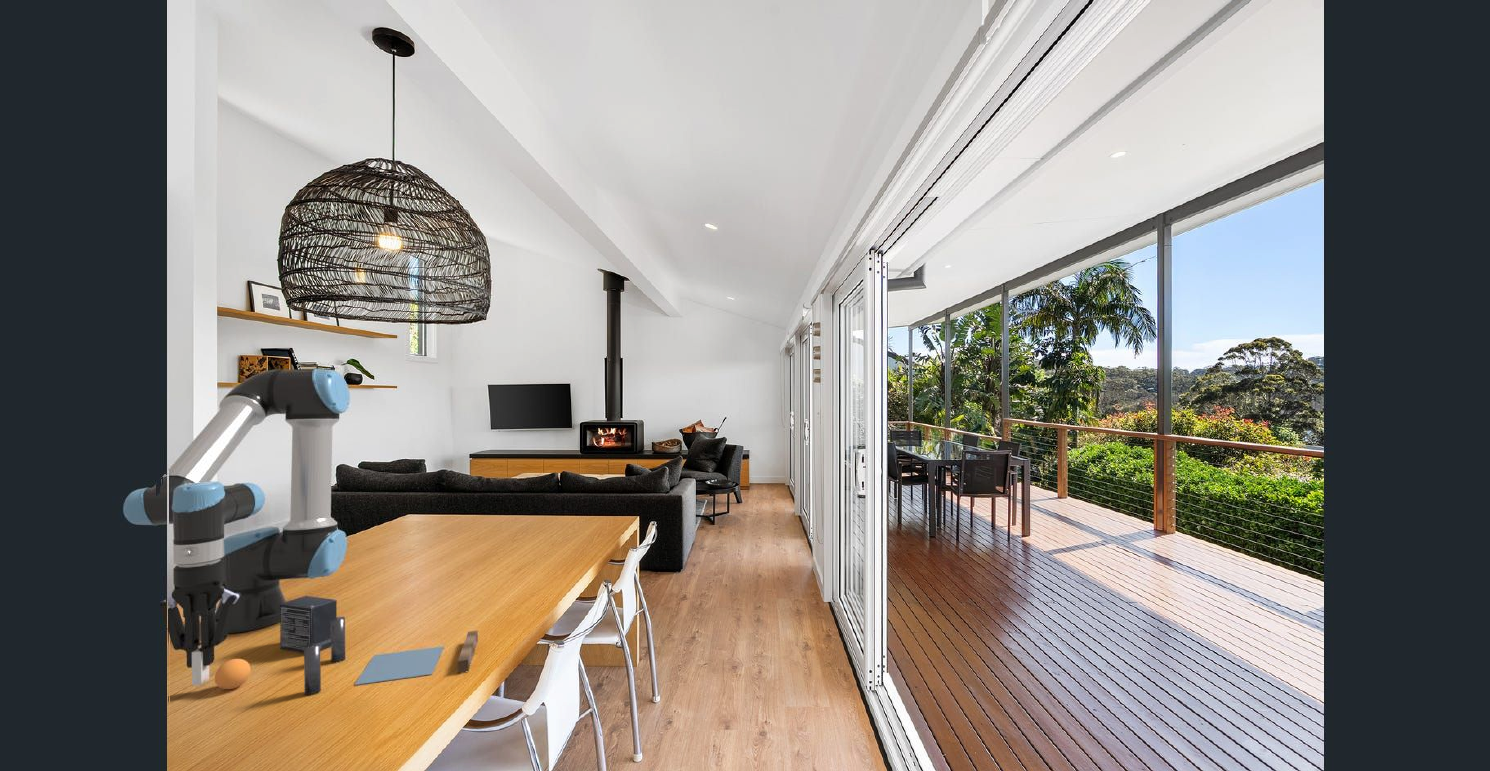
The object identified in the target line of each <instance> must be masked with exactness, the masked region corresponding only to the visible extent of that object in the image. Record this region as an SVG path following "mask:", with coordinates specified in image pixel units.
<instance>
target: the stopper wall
mask: <svg viewBox="0 0 1490 771" xmlns="http://www.w3.org/2000/svg"><path fill="white" fill-rule="evenodd" d="M478 633H479V632H478V630H472V631H471V630H470V631H467V634H466V637H465V640H464V642H463V646H462V648H461V651H460V654H459V657H458V659H457V674H462V673H461V672H463V673H467V672H466V671H468V672H469V671H470V667H471V665H472V662H471V661H473V658H474V655H475V651H476V649H477V645H478V642H479V641H478V640H479V639H478V638H479V637H478V636H479V634H478ZM475 648H476V649H475ZM470 664H471V665H470Z"/></svg>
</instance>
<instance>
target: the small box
mask: <svg viewBox="0 0 1490 771" xmlns="http://www.w3.org/2000/svg"><path fill="white" fill-rule="evenodd" d="M337 614H338V613H337V599H332V598H325V597H319V596H318V597H316V596H312V595H311V596H310V595H305V596H302V597H298V598H295V599H291V600H290V599H289V600H288V601H287V600H286V602H283V603H280V617H281V618H280V622H279V623H280V628H279V629H280V631H279V632H280V633H279V634H280V635H279V637H280V639H279V649H280V650H284V651H291V652H296V653H302V654H304V647H305V646H307V645H310V644H314V643H319V644H320V651H323V650H325V649H328V648H331V619H333V618H336V617H338V616H337Z"/></svg>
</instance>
